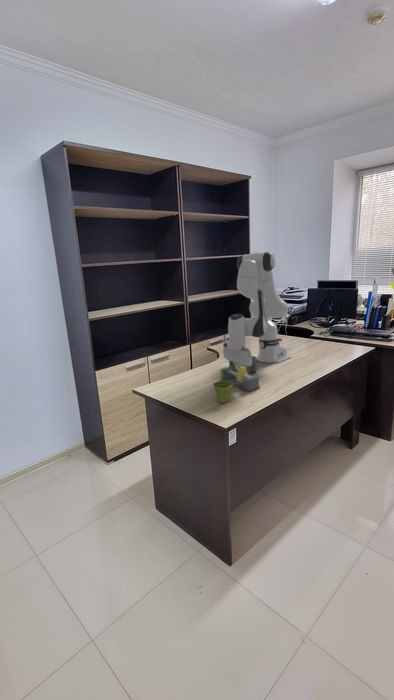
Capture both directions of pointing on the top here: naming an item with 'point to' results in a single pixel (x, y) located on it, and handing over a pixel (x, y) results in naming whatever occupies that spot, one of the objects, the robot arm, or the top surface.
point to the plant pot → (222, 391)
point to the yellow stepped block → (241, 373)
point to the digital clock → (248, 369)
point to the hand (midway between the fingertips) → (237, 370)
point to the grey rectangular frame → (247, 385)
